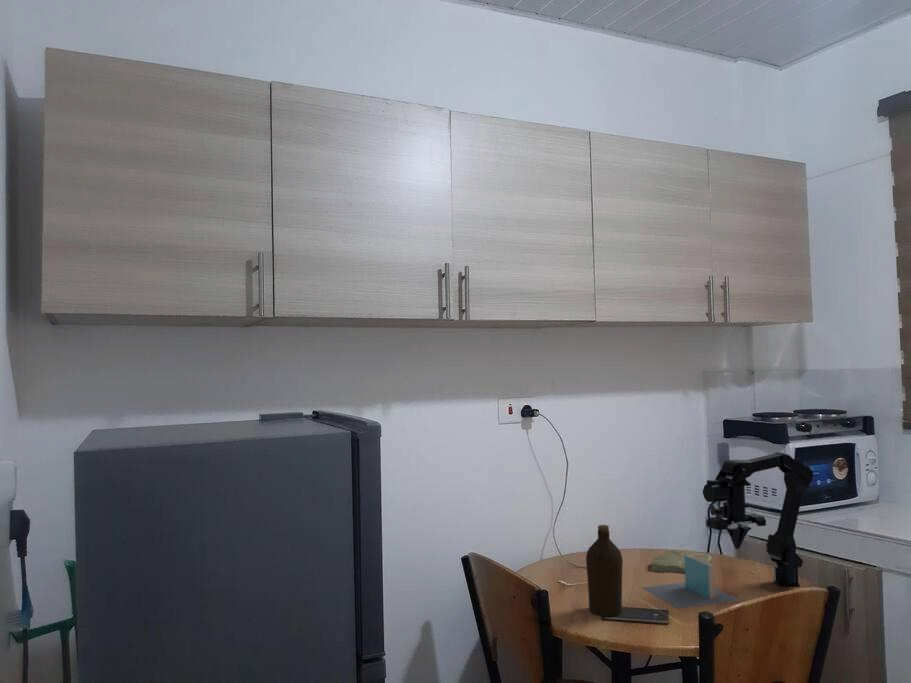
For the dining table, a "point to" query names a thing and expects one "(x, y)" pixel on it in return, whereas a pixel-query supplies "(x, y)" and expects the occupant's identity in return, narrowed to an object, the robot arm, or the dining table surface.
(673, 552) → the decorative tile
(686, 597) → the mat
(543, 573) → the dining table surface
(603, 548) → the olive oil
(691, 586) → the tile
